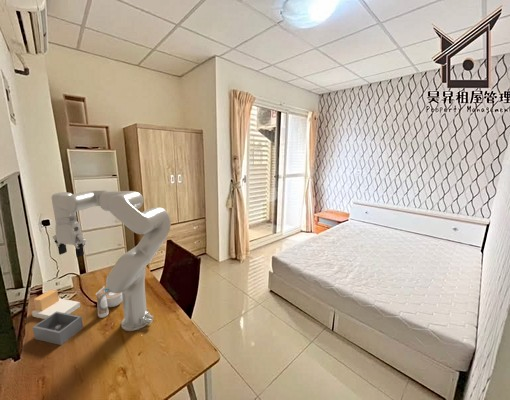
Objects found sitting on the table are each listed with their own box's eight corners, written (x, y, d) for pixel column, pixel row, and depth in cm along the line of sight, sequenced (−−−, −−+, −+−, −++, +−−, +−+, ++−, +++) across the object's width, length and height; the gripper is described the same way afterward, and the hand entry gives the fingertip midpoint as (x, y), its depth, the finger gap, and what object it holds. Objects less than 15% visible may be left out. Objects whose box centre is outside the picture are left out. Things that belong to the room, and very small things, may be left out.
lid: (80, 306, 120) (78, 291, 118) (58, 321, 109) (55, 306, 107) (56, 301, 123) (54, 287, 121) (32, 316, 112) (29, 301, 110)
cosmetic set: (108, 320, 111) (104, 286, 107) (89, 320, 111) (84, 285, 107) (134, 289, 135) (131, 260, 131) (118, 289, 135) (115, 260, 131)
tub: (83, 327, 106) (81, 316, 105) (61, 345, 96) (59, 333, 95) (58, 322, 109) (56, 311, 107) (34, 339, 99) (32, 327, 98)
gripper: (89, 219, 106) (94, 253, 109) (59, 215, 109) (64, 249, 113) (74, 224, 99) (79, 260, 102) (41, 220, 102) (48, 255, 105)
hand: (71, 254), depth 107 cm, fingers open, 9 cm apart
